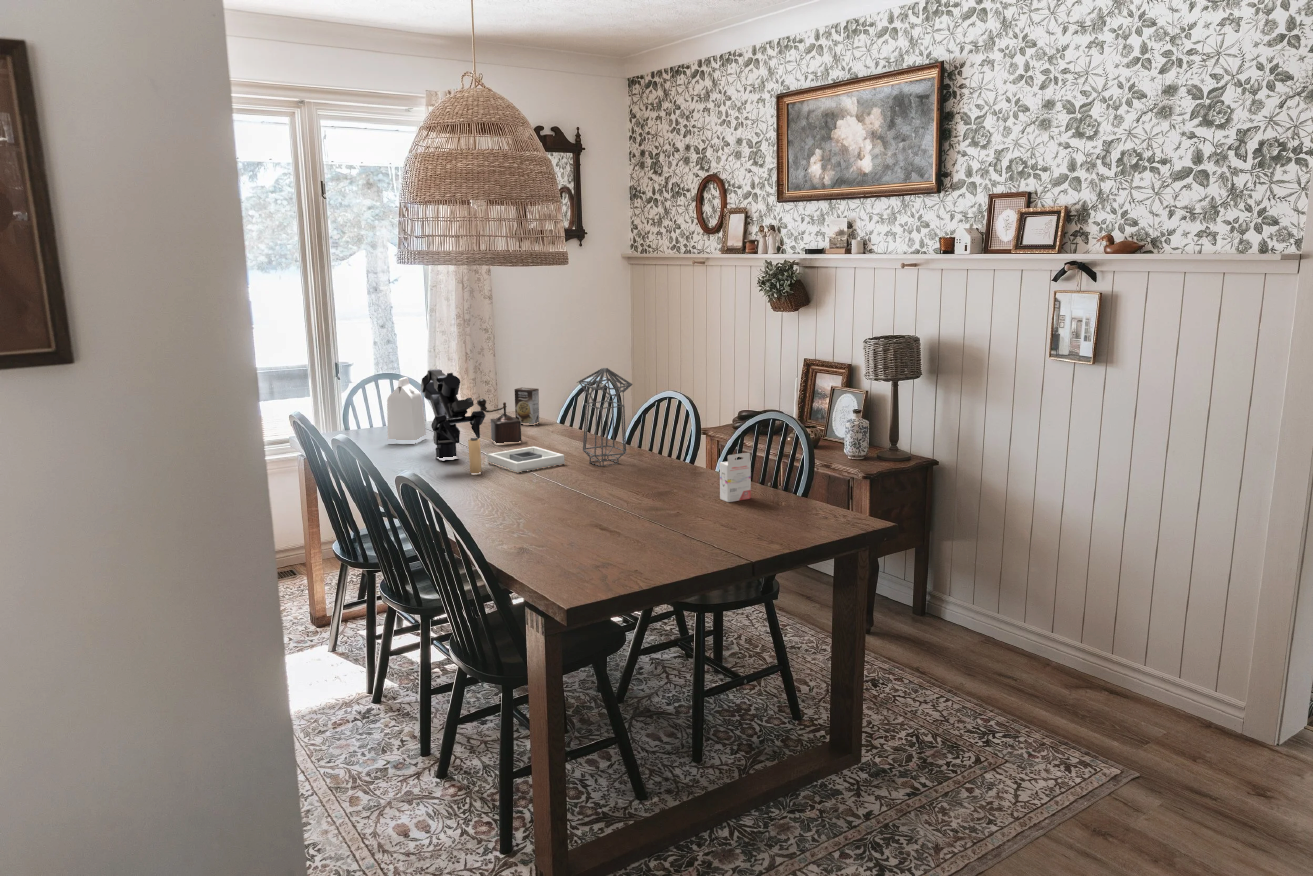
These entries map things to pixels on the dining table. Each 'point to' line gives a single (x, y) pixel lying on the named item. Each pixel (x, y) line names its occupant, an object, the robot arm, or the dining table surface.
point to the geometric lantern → (628, 384)
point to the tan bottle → (474, 455)
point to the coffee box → (527, 405)
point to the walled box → (526, 458)
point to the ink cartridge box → (735, 478)
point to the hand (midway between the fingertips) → (467, 439)
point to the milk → (405, 412)
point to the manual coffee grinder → (503, 425)
